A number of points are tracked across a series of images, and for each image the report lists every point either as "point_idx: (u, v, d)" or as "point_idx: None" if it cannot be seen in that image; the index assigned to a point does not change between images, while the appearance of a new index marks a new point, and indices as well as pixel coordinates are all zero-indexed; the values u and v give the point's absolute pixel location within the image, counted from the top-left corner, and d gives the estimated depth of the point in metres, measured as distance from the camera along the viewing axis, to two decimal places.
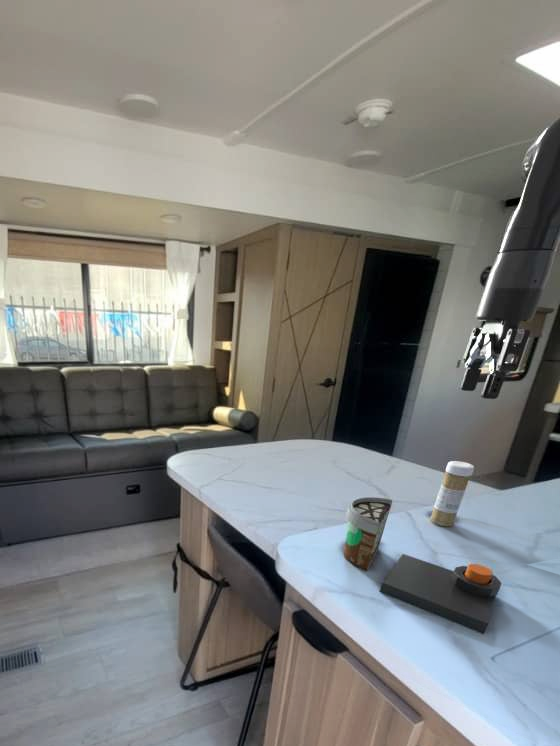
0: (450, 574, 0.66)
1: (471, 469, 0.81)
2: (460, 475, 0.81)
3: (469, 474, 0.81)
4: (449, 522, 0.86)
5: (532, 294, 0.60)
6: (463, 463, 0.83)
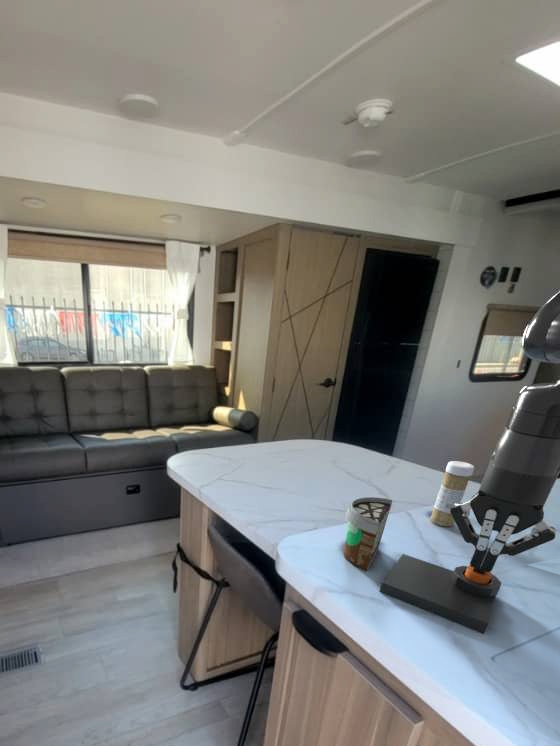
0: (450, 574, 0.66)
1: (471, 469, 0.81)
2: (460, 475, 0.81)
3: (469, 474, 0.81)
4: (449, 522, 0.86)
5: None
6: (463, 463, 0.83)
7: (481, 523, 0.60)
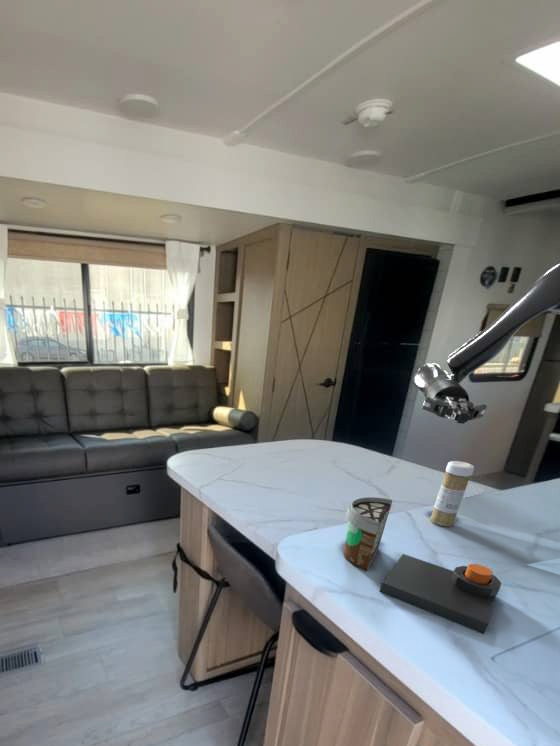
0: (450, 574, 0.66)
1: (471, 470, 0.81)
2: (460, 475, 0.81)
3: (469, 474, 0.81)
4: (449, 522, 0.86)
5: (432, 391, 0.98)
6: (463, 463, 0.83)
7: None
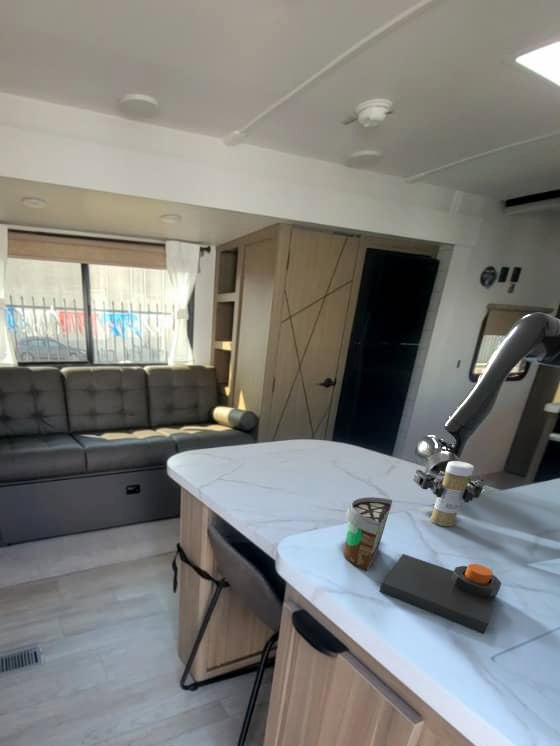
0: (450, 574, 0.66)
1: (470, 469, 0.81)
2: (460, 475, 0.81)
3: (469, 474, 0.81)
4: (449, 522, 0.86)
5: (429, 464, 0.96)
6: (463, 463, 0.83)
7: None
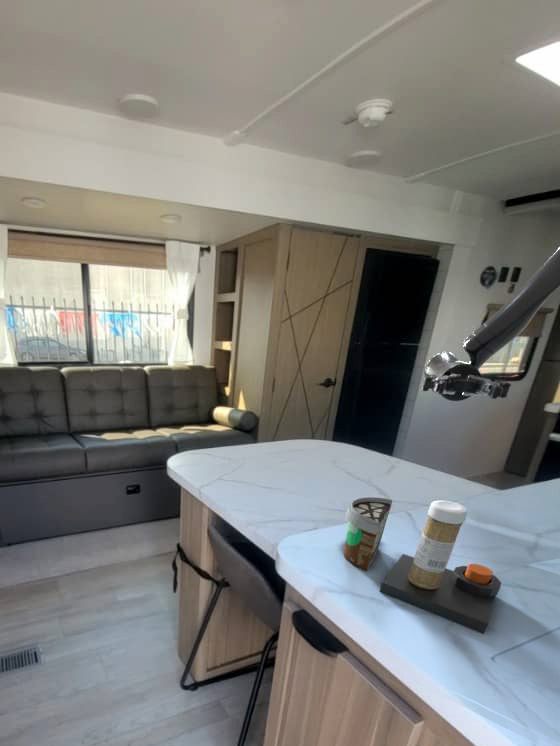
0: (450, 574, 0.66)
1: (462, 515, 0.57)
2: (448, 522, 0.57)
3: (460, 521, 0.57)
4: (433, 584, 0.62)
5: (440, 373, 0.88)
6: (452, 504, 0.59)
7: (472, 392, 0.80)
